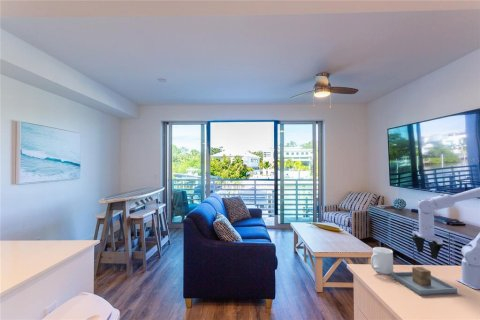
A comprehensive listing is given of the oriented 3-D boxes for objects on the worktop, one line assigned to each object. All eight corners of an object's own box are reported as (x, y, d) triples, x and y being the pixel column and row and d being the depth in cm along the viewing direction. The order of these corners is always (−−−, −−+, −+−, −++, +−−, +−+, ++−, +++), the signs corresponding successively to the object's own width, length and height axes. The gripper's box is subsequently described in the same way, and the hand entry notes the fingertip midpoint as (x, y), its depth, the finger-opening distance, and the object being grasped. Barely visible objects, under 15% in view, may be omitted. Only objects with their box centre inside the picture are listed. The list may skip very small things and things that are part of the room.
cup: (397, 273, 116) (396, 251, 116) (379, 277, 111) (378, 255, 112) (381, 266, 124) (381, 246, 124) (363, 270, 119) (363, 249, 119)
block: (422, 280, 107) (421, 266, 107) (431, 285, 102) (430, 271, 102) (412, 281, 106) (412, 267, 107) (421, 286, 102) (420, 271, 102)
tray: (423, 275, 113) (423, 271, 113) (457, 293, 97) (456, 288, 97) (391, 277, 112) (391, 272, 112) (419, 295, 96) (419, 290, 96)
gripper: (406, 222, 121) (407, 249, 120) (432, 229, 106) (432, 261, 106) (419, 221, 121) (420, 249, 121) (446, 229, 107) (447, 260, 106)
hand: (427, 254), depth 113 cm, fingers open, 7 cm apart
